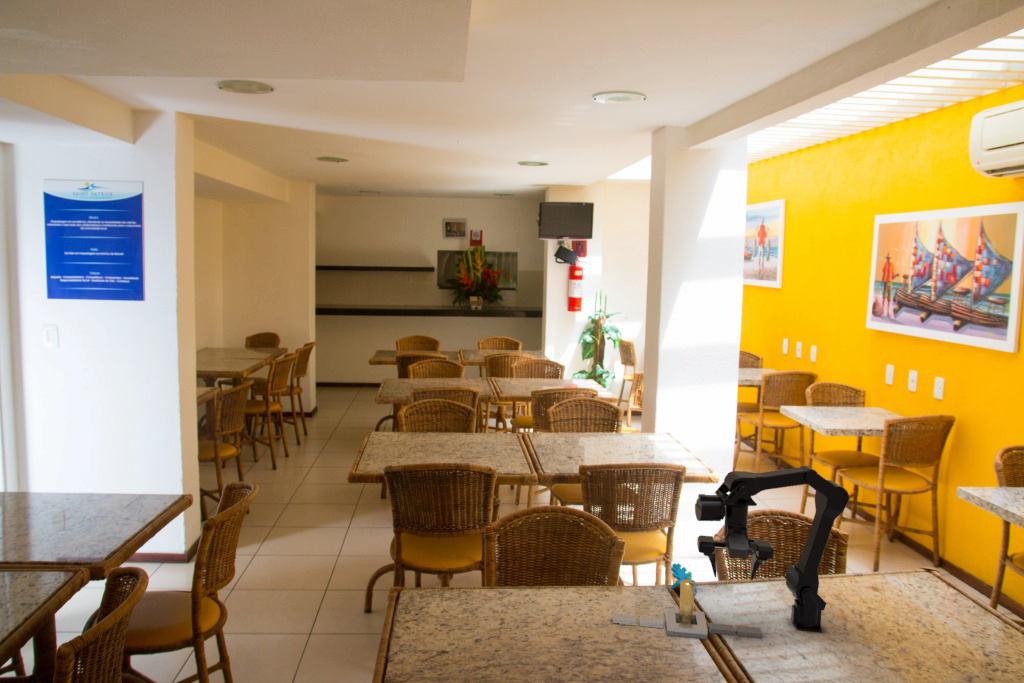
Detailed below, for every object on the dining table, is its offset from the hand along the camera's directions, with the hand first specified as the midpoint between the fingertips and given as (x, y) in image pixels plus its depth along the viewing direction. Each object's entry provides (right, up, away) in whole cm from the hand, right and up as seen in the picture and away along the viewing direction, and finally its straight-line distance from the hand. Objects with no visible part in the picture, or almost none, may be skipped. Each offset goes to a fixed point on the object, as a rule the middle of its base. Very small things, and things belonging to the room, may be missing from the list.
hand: (733, 577), depth 185 cm
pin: (-13, -13, -1) cm, 18 cm away
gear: (-8, -11, +21) cm, 25 cm away
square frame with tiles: (-13, -13, -1) cm, 18 cm away
